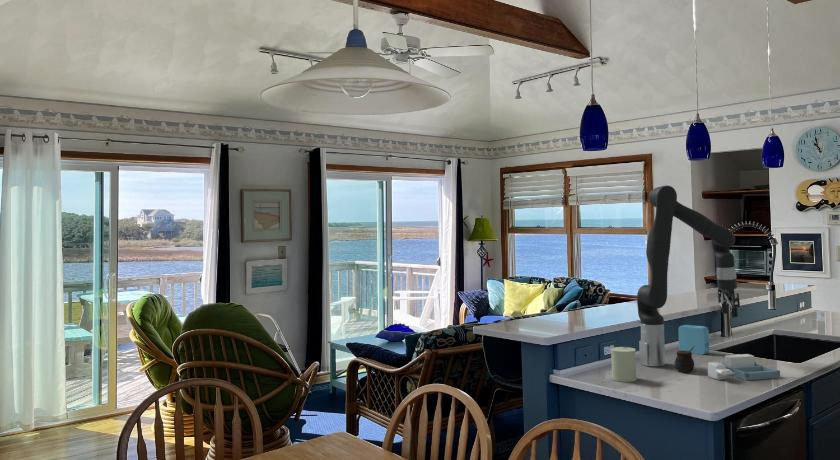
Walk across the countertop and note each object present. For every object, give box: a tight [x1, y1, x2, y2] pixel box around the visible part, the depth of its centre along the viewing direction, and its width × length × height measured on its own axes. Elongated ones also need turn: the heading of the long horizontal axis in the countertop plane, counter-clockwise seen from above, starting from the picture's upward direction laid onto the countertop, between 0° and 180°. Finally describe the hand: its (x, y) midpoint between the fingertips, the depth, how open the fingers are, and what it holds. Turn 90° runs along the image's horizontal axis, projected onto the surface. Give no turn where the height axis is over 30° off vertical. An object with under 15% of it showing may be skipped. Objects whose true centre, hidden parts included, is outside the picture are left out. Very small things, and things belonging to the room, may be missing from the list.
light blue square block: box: [678, 324, 710, 356], centre depth 286 cm, size 12×4×12 cm, turn 41°
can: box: [610, 346, 637, 383], centre depth 243 cm, size 9×9×12 cm
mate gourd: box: [674, 346, 695, 374], centre depth 252 cm, size 7×8×10 cm
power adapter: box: [707, 361, 736, 381], centre depth 237 cm, size 11×5×6 cm, turn 14°
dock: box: [721, 353, 781, 381], centre depth 245 cm, size 14×18×6 cm
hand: (729, 315), depth 269 cm, fingers open, 8 cm apart
